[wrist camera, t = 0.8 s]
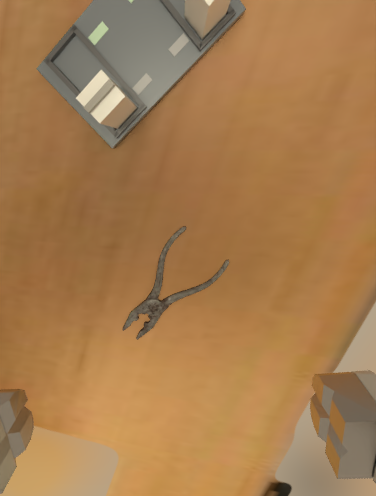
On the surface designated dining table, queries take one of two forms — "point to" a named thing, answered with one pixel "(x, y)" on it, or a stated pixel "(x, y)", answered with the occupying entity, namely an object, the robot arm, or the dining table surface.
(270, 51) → the dining table surface
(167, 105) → the dining table surface
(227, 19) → the grey rectangular board
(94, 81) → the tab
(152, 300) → the pliers
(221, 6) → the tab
